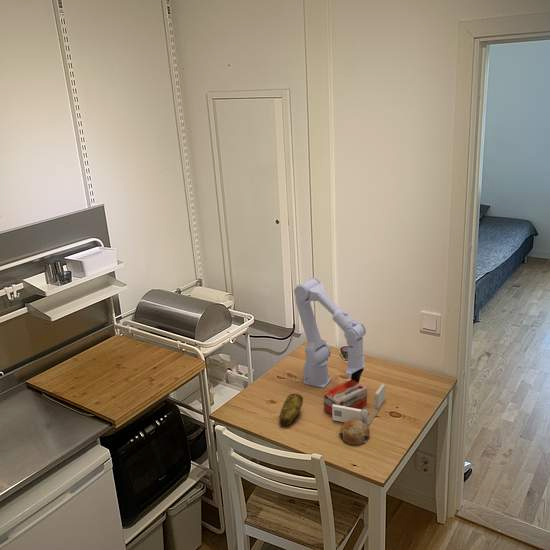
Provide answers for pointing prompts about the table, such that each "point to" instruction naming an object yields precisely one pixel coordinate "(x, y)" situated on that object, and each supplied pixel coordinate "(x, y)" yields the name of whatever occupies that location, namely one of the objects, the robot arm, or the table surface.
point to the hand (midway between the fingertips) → (355, 384)
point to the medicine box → (346, 396)
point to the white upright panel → (378, 401)
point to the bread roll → (354, 432)
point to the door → (345, 413)
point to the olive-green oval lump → (291, 408)
